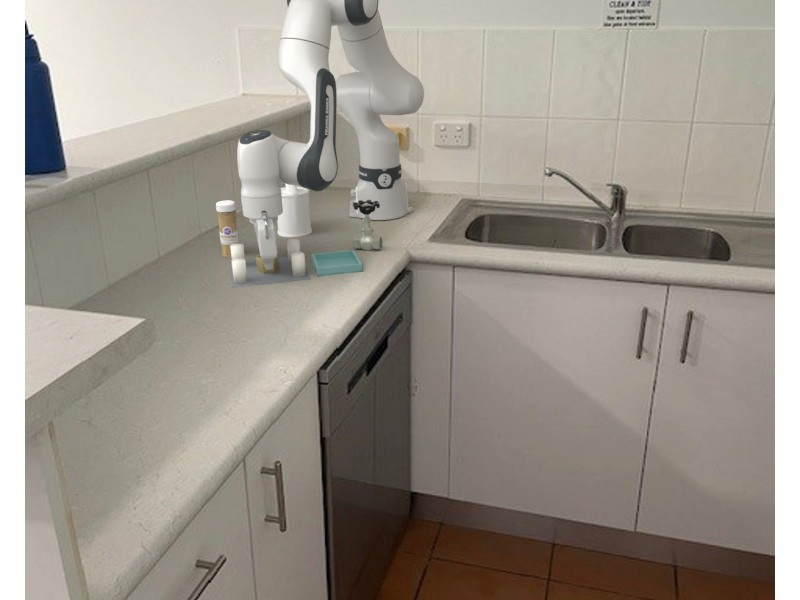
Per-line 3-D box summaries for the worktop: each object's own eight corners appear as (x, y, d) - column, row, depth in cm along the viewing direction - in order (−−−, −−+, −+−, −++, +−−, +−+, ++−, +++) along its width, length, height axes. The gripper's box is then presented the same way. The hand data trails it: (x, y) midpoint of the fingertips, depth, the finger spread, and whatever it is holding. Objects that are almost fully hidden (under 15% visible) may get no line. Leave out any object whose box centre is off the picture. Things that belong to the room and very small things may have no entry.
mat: (230, 262, 172) (230, 261, 172) (301, 255, 176) (301, 254, 176) (232, 288, 157) (232, 287, 157) (310, 280, 161) (310, 279, 161)
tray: (312, 262, 171) (311, 254, 171) (354, 258, 174) (353, 249, 173) (317, 277, 162) (317, 268, 161) (362, 272, 164) (361, 264, 164)
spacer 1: (232, 264, 170) (230, 244, 169) (245, 263, 171) (243, 243, 169) (232, 268, 168) (230, 248, 166) (245, 267, 168) (243, 246, 166)
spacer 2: (233, 279, 161) (231, 258, 159) (247, 278, 162) (245, 257, 160) (234, 284, 158) (231, 263, 156) (248, 283, 159) (245, 262, 157)
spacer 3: (287, 258, 173) (285, 238, 171) (300, 257, 174) (298, 237, 172) (288, 262, 171) (287, 242, 169) (301, 261, 171) (300, 241, 169)
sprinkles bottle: (223, 259, 175) (216, 205, 169) (221, 253, 179) (214, 200, 173) (242, 257, 176) (236, 203, 171) (239, 251, 180) (233, 198, 175)
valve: (378, 255, 175) (376, 207, 171) (351, 254, 177) (349, 206, 172) (384, 246, 181) (382, 200, 177) (358, 245, 183) (356, 199, 178)
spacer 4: (291, 273, 164) (290, 252, 162) (305, 271, 165) (303, 251, 163) (293, 277, 162) (291, 256, 160) (306, 276, 162) (305, 255, 160)
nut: (256, 268, 168) (255, 253, 166) (278, 265, 169) (277, 251, 167) (258, 274, 164) (256, 259, 162) (280, 272, 165) (279, 257, 164)
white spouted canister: (275, 229, 196) (268, 156, 188) (309, 226, 198) (303, 153, 191) (280, 241, 187) (273, 164, 179) (315, 237, 189) (310, 161, 181)
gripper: (280, 217, 152) (286, 278, 157) (273, 193, 170) (278, 249, 175) (250, 220, 150) (257, 282, 156) (245, 195, 169) (251, 251, 174)
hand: (268, 264), depth 166 cm, fingers closed on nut, 4 cm apart
